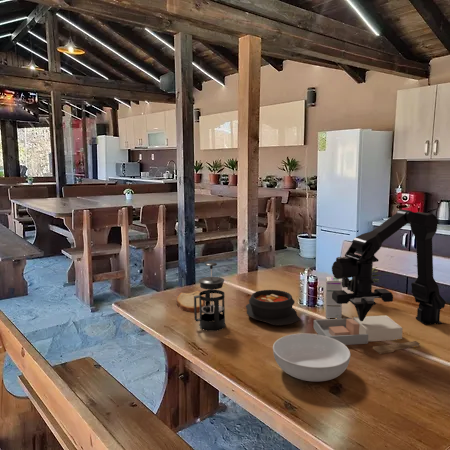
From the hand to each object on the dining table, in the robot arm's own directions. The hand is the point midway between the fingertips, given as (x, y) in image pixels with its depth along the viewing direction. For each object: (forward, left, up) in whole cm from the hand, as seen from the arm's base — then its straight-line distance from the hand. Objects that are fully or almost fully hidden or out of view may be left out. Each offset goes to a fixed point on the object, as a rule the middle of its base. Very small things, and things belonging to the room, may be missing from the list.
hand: (361, 320), depth 138 cm
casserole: (+26, -19, -5) cm, 33 cm away
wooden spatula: (-8, +11, -5) cm, 14 cm away
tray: (+7, 0, -5) cm, 8 cm away
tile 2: (+3, +2, -2) cm, 4 cm away
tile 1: (+8, 0, -2) cm, 8 cm away
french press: (+49, -13, -5) cm, 51 cm away
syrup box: (+3, -17, -5) cm, 18 cm away
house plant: (-13, -30, -5) cm, 33 cm away
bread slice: (+56, -38, -6) cm, 68 cm away
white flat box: (-6, 0, -5) cm, 7 cm away
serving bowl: (+23, +22, -5) cm, 33 cm away
